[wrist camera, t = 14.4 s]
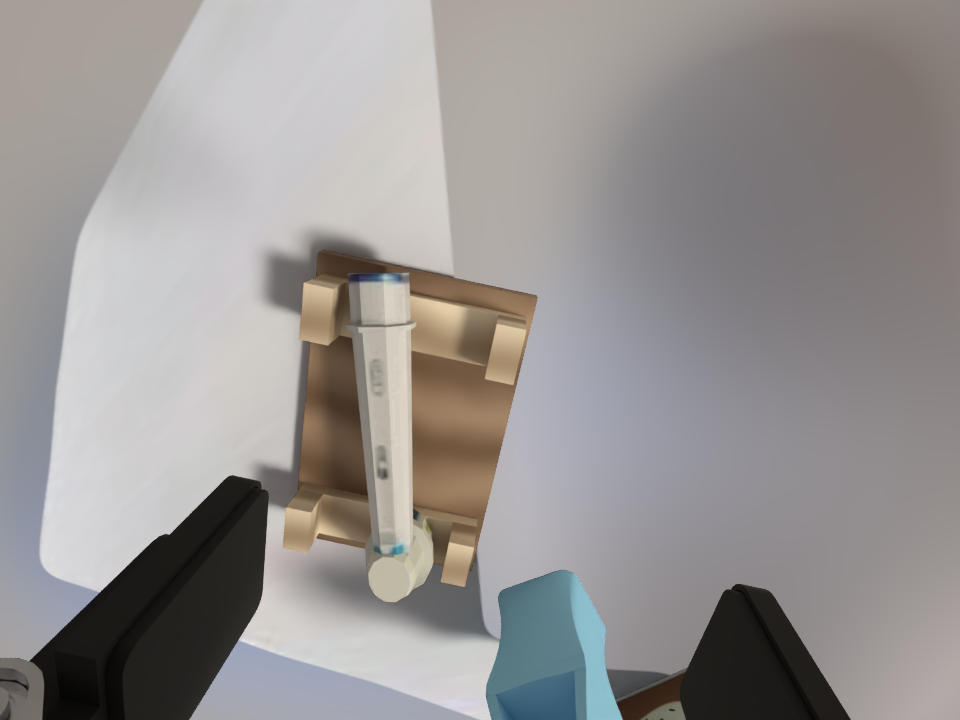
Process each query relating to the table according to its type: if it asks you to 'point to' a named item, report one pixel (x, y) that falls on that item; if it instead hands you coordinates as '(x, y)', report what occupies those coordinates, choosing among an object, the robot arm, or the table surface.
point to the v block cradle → (435, 408)
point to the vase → (550, 654)
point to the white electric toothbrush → (388, 432)
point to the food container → (654, 700)
